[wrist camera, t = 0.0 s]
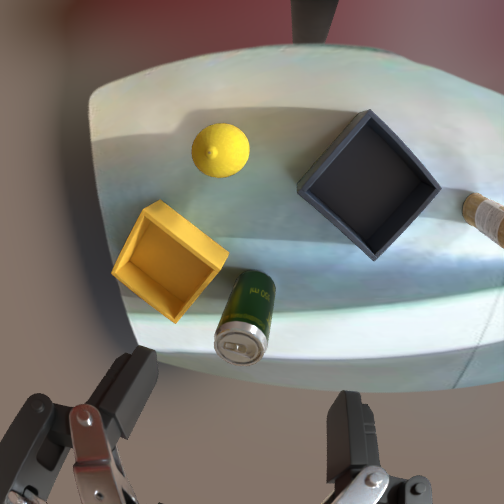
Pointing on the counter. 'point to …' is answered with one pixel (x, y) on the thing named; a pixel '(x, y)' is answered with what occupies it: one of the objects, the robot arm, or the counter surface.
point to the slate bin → (369, 184)
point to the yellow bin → (168, 260)
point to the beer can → (246, 320)
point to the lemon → (220, 150)
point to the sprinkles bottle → (485, 217)
